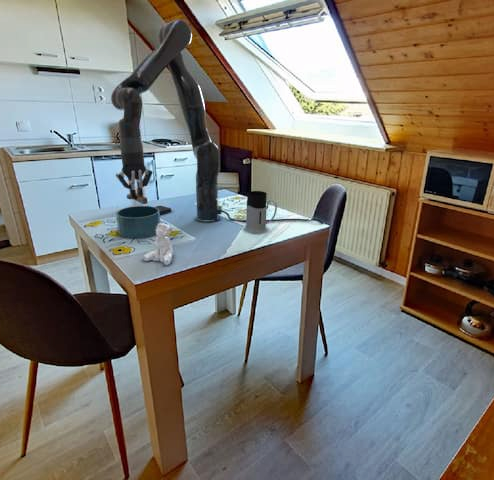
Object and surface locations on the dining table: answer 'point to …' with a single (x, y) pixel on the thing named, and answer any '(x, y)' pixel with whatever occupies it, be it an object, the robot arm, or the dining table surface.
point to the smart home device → (163, 209)
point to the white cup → (136, 203)
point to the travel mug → (257, 212)
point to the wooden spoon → (139, 198)
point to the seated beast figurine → (161, 245)
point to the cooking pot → (137, 221)
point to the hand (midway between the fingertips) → (137, 198)
